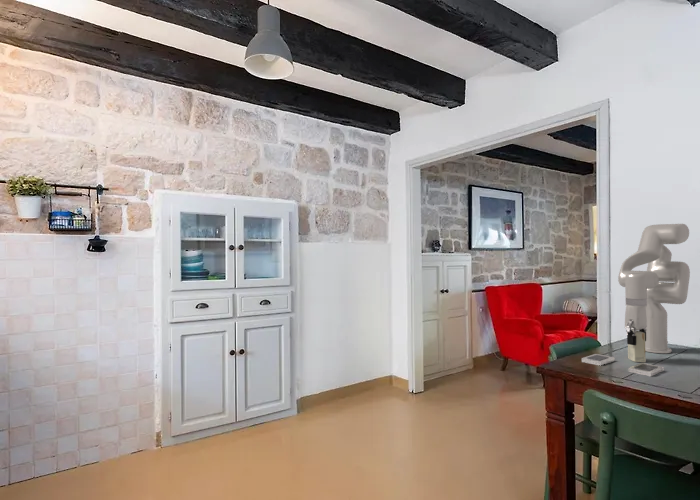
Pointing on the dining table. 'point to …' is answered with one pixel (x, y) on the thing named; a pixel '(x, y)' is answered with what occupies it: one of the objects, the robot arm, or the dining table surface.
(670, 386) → the dining table surface
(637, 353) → the skincare box
